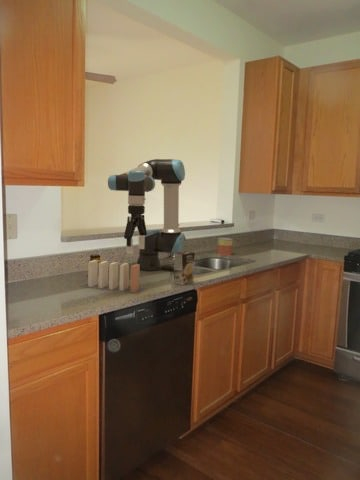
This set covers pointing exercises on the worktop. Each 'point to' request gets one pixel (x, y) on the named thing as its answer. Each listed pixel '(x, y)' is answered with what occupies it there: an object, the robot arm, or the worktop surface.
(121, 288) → the domino
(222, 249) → the canned food
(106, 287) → the mat
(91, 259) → the condiment
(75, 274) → the worktop surface
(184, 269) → the coffee box
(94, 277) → the domino
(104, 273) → the domino
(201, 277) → the worktop surface
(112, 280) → the domino
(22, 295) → the worktop surface
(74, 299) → the worktop surface
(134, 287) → the domino
